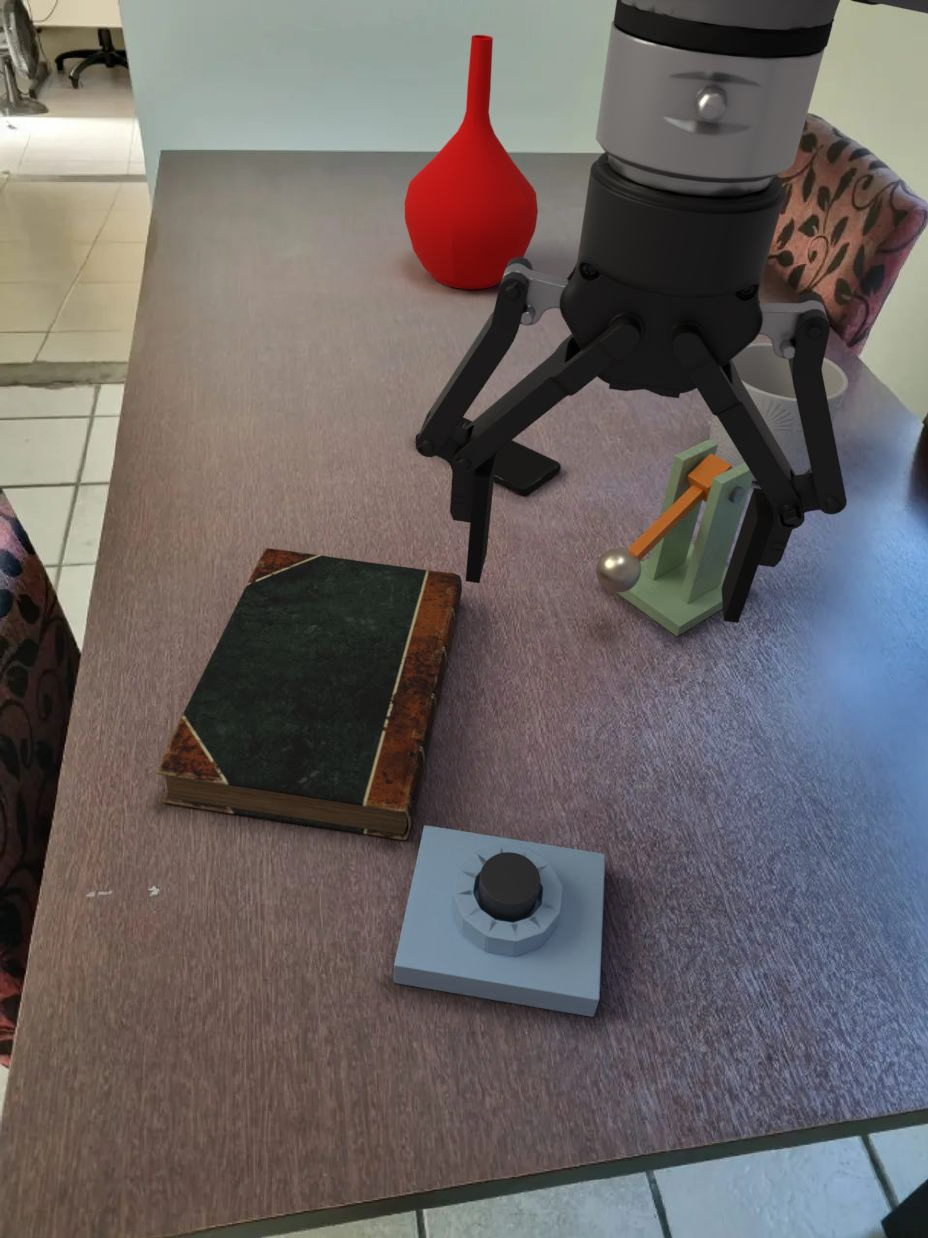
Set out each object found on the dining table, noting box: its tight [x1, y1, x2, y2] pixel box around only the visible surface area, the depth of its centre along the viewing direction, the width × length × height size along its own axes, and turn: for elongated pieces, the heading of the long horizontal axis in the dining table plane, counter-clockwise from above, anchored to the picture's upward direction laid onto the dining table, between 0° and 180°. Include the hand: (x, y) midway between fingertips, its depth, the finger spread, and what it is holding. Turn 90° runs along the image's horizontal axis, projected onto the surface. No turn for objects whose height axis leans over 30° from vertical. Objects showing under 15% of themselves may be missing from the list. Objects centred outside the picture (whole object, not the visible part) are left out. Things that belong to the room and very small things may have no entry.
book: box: [156, 547, 463, 841], centre depth 72 cm, size 17×4×25 cm
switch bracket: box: [615, 439, 754, 637], centre depth 80 cm, size 10×8×14 cm
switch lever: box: [595, 453, 732, 594], centre depth 76 cm, size 14×4×4 cm, turn 129°
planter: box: [708, 342, 849, 482], centre depth 99 cm, size 12×12×11 cm
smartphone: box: [415, 416, 562, 496], centre depth 99 cm, size 7×1×15 cm
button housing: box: [393, 824, 606, 1018], centre depth 58 cm, size 12×10×4 cm
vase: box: [404, 34, 539, 290], centre depth 125 cm, size 18×18×30 cm
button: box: [478, 852, 540, 920], centre depth 56 cm, size 4×4×2 cm
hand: (601, 586), depth 50 cm, fingers open, 13 cm apart
